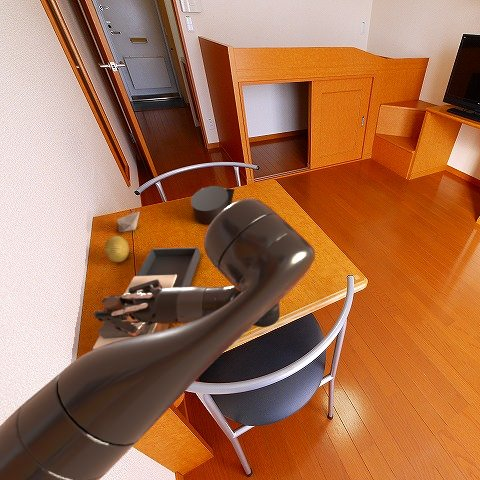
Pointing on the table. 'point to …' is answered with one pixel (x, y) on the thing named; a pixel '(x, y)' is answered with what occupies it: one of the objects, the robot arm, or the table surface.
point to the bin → (172, 264)
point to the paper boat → (128, 222)
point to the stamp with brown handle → (108, 328)
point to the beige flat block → (164, 280)
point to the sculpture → (117, 249)
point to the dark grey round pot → (210, 202)
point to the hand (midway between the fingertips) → (100, 308)
